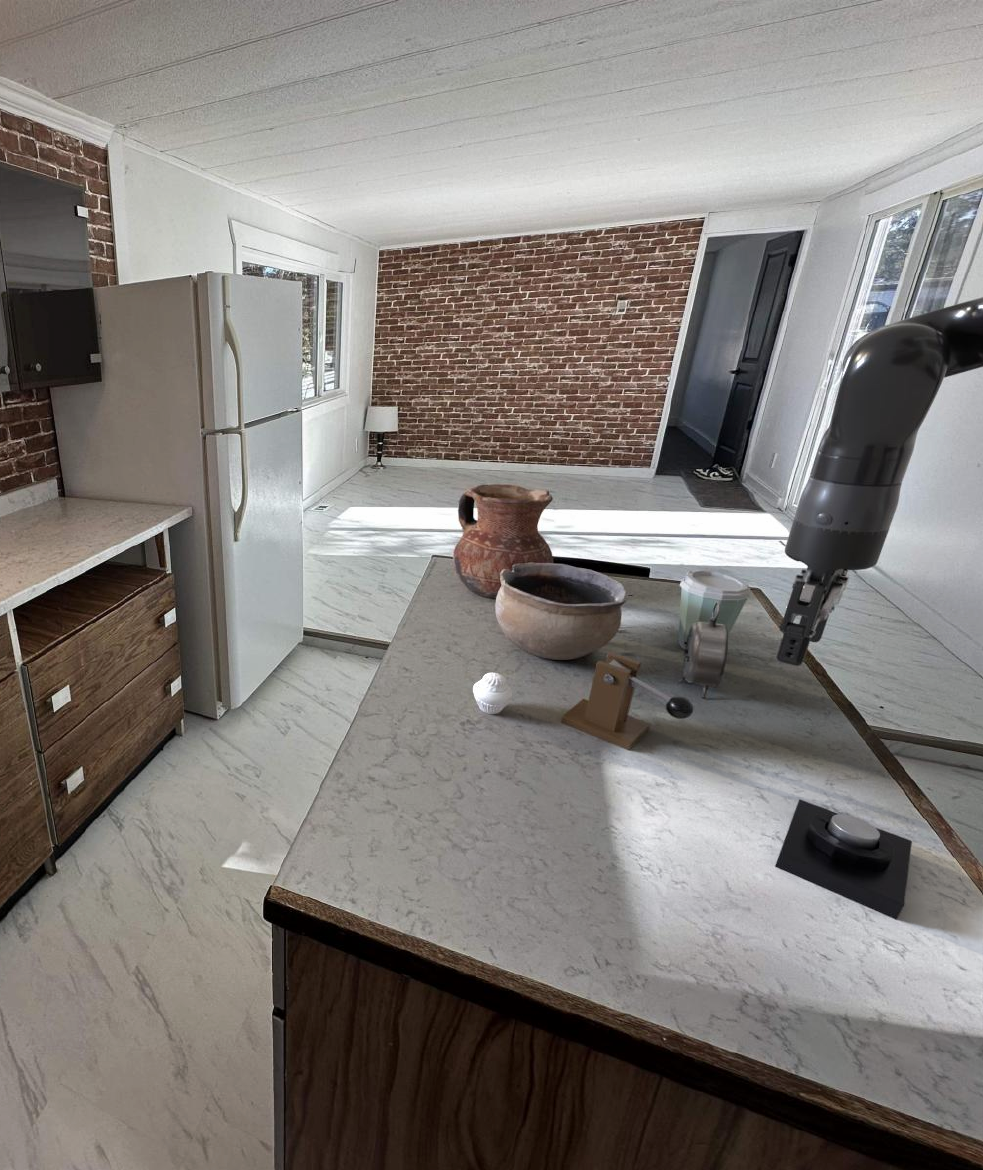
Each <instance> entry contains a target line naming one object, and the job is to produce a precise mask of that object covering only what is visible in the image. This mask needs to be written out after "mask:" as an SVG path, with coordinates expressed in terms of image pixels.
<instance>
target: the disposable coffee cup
mask: <svg viewBox="0 0 983 1170" xmlns="http://www.w3.org/2000/svg"><path fill="white" fill-rule="evenodd" d="M679 587H681V592H680V593H681V594H680V608H679V625H678V643H679V646H680V647H681V648H682V649H683V650H685V647H686V644H684V642H687V637H688V633H689V630H690V628H691V626H692V625H693V624H694V623H696V622H707V623H710V618H711V617H712V611H713V607H714V605H715V603H716V602H719V603H720V611H719V615H718V617H717V621H716V624H725V625H726V627H727V630H728V636H729V635H730V633H731V632H732V629H733V628H734V625H735V624H736V622H737V620H738V618H739V616H740V614H741V613H742V610H743V608H744V606H745V604H746V602H747V601H748V599H749V598H751V586H749V584H748V583H747V582H745V581H744V580H742V579H741V578H739V577H737V576H734V575H731V574H729V573H726V572H721V571H717V570H712V569H703V568H702V569H701V568H696V569H692V570H689V571H687V572H686V575H685V576H683V577H682V579H681V581H680V584H679ZM717 610H718V604H717V605H716V608H715V612H714V617H716V614H717Z"/></svg>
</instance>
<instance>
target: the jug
mask: <svg viewBox="0 0 983 1170" xmlns="http://www.w3.org/2000/svg"><path fill="white" fill-rule="evenodd" d="M553 499H554V497H553V496H552V494H550V491H549V490H547V489H541V488H535V489H530V488H525V487H522V486H519V485H517V484H506V483H505V484H504V483H503V484H500V483H499V484H497V483H494V484H493V483H492V484H478V485H476V486H473V487H469V488H467V489H466V490H465V491H463V493H462V494H461V496H460V498H459V501H458V509H457V514H458V515H457V516H458V522H459V525H460V527H461V529H462V532H463V533H462V535H461V537H460V539H459V540H458V542H457V543H456V544H455V546H454V548H453V552H452V553H453V554H452V555H453V556H452V564H453V567H454V568H453V569H454V571H455V574H456V576H457V578H458V579H459V580H460V582H461V583H462V584H463V585H464V586H465V587H466V588H467V589H468V591H470V592H472V593H474V594H475V595H477V596H480V597H484V598H487V599H488V598H489V599H496V597H497V594H498V591H499V589H500V588H501V586H502V585H501V581H500V573H501V571H502V570H503V569H508V570H510V571H513V567H512V566H513V565H515V564H524V563H532V562H533V563H553V564H554V556H553V551H552V549H551V547H550V545H549V543H548V542H547V541H546V540H545V538H544V537H543V536H542V534H540V532H539V529H538V525H539V521H540V519H541V515H542V514H543V512H544V511H545V509H546V508H547V507H548V506H549V505H550V504H551V503H552V502H553ZM475 505H476V509H477V510H476V511H477V519H475V517H474V515H475V513H474V512H475V511H474V509H475Z"/></svg>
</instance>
